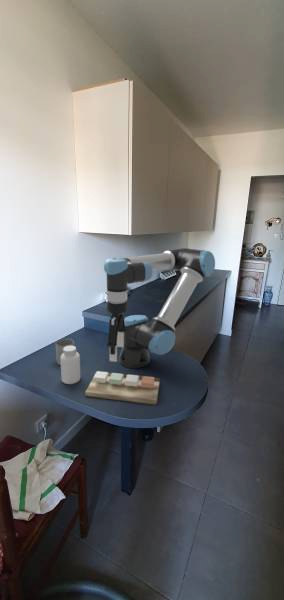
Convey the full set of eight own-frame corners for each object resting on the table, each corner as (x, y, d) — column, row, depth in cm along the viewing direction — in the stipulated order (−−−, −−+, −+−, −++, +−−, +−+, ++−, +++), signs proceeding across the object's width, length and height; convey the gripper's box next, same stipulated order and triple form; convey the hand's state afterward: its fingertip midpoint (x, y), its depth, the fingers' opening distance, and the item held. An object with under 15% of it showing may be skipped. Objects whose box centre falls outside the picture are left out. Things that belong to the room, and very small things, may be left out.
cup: (61, 367, 129) (60, 347, 126) (53, 360, 135) (52, 341, 132) (77, 361, 134) (76, 342, 132) (69, 355, 140) (68, 337, 138)
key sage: (112, 376, 115) (112, 372, 115) (123, 378, 114) (123, 373, 114) (109, 383, 111) (109, 379, 110) (120, 384, 110) (120, 380, 109)
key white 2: (127, 378, 114) (127, 374, 114) (138, 379, 114) (138, 375, 113) (124, 385, 110) (125, 380, 109) (136, 386, 109) (136, 382, 108)
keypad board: (96, 377, 122) (96, 371, 121) (159, 383, 118) (159, 378, 117) (85, 396, 108) (85, 390, 108) (156, 404, 105) (156, 398, 104)
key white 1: (97, 375, 116) (97, 371, 115) (108, 376, 115) (108, 372, 115) (93, 381, 111) (93, 377, 111) (105, 382, 111) (104, 378, 110)
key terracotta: (142, 380, 113) (142, 376, 113) (154, 381, 113) (154, 377, 112) (141, 386, 109) (141, 382, 108) (153, 388, 108) (153, 383, 108)
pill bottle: (63, 386, 114) (61, 353, 110) (60, 376, 121) (58, 345, 117) (82, 382, 117) (81, 350, 113) (78, 373, 124) (77, 342, 120)
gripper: (114, 292, 115) (114, 340, 121) (98, 310, 92) (99, 367, 98) (132, 293, 114) (131, 341, 120) (120, 311, 91) (119, 369, 97)
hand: (116, 353), depth 109 cm, fingers open, 12 cm apart
